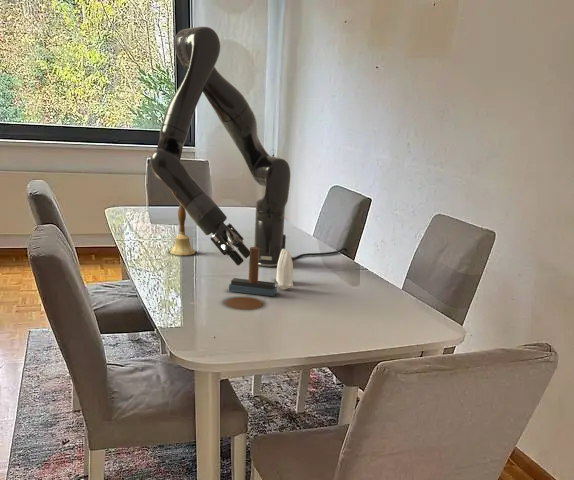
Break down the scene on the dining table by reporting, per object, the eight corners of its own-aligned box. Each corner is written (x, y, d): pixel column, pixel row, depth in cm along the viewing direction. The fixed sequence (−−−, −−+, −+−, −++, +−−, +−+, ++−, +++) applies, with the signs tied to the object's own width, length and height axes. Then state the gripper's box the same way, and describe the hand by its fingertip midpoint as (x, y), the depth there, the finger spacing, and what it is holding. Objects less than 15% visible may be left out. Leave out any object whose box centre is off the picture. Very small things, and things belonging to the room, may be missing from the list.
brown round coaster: (250, 296, 176) (250, 295, 176) (269, 307, 169) (269, 306, 169) (218, 300, 171) (218, 300, 171) (237, 312, 163) (237, 311, 163)
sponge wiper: (232, 288, 181) (233, 244, 176) (276, 293, 179) (279, 249, 174) (228, 291, 178) (230, 247, 172) (273, 297, 176) (276, 252, 171)
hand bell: (166, 254, 210) (165, 205, 203) (174, 248, 218) (174, 201, 211) (190, 256, 209) (190, 207, 202) (198, 251, 217) (198, 203, 210)
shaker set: (292, 292, 181) (295, 254, 177) (278, 291, 181) (280, 253, 176) (289, 280, 192) (291, 244, 187) (275, 279, 192) (277, 243, 187)
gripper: (207, 208, 164) (248, 257, 167) (222, 200, 177) (260, 245, 180) (187, 227, 167) (228, 274, 170) (204, 217, 180) (242, 262, 183)
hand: (245, 259), depth 175 cm, fingers open, 8 cm apart
